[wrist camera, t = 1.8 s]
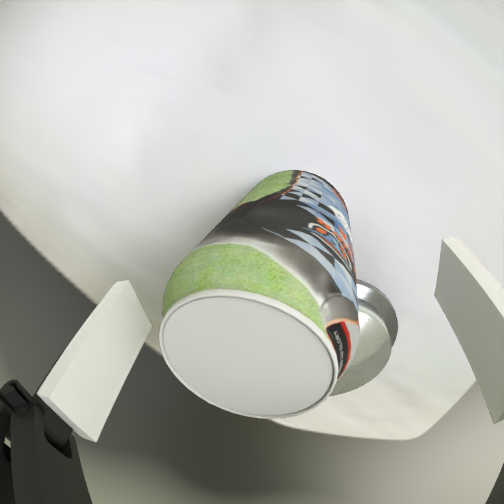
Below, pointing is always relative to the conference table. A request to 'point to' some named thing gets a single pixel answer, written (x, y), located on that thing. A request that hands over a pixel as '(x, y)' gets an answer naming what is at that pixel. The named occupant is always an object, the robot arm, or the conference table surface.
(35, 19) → the conference table surface
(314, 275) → the beverage can
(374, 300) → the bowl
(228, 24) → the conference table surface
